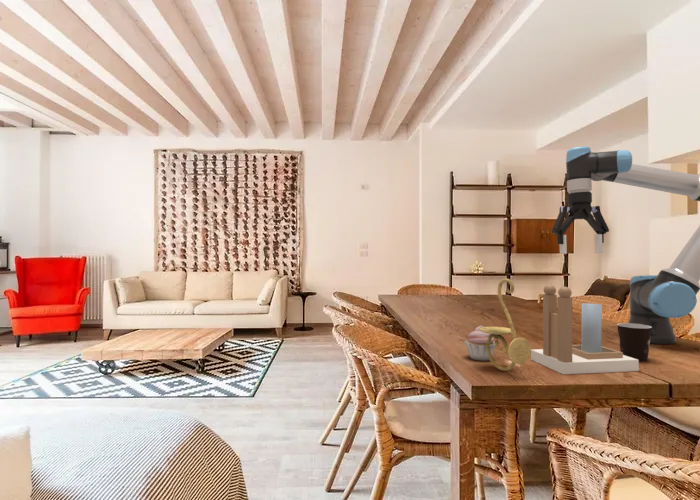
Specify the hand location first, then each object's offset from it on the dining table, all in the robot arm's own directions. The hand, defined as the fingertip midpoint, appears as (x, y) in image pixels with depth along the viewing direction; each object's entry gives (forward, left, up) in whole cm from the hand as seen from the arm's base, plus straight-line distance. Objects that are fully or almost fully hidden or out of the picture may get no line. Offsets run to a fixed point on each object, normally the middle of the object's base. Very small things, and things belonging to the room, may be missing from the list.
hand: (581, 253), depth 146 cm
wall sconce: (+43, +27, -32) cm, 60 cm away
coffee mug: (-3, +21, -32) cm, 38 cm away
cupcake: (+43, +14, -32) cm, 55 cm away
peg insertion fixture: (+18, +25, -31) cm, 44 cm away
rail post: (+15, +25, -28) cm, 41 cm away
